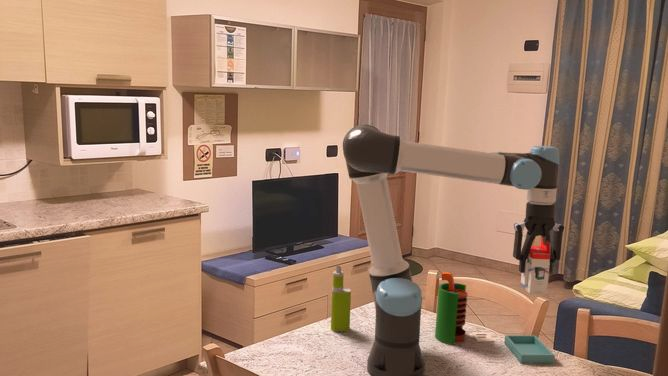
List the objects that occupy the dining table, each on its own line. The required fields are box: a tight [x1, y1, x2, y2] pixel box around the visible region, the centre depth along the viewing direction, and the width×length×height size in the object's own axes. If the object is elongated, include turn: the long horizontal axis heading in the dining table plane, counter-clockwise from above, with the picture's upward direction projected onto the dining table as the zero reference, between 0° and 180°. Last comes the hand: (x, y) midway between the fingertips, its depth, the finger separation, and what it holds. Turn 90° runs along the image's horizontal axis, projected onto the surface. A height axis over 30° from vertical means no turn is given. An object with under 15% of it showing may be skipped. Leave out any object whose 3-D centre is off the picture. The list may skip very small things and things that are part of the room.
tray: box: [504, 334, 555, 365], centre depth 165 cm, size 9×13×2 cm
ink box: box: [520, 236, 552, 295], centre depth 161 cm, size 8×5×15 cm, turn 178°
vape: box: [330, 265, 352, 332], centre depth 177 cm, size 4×6×20 cm, turn 92°
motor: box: [434, 271, 469, 346], centre depth 173 cm, size 10×9×20 cm
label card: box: [471, 331, 495, 343], centre depth 175 cm, size 5×6×1 cm
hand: (534, 283), depth 162 cm, fingers closed on ink box, 5 cm apart
